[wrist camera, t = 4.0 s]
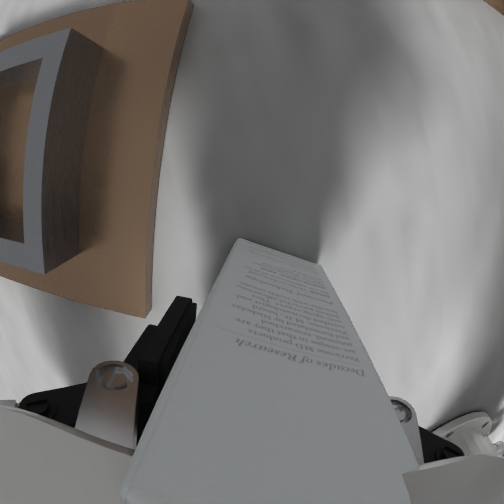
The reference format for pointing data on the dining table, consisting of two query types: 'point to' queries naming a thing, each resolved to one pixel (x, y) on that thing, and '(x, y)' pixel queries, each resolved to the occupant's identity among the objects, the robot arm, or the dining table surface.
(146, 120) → the board with square socket
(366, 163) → the dining table surface
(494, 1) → the square wooden tray
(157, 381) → the robot arm
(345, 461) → the skincare box
